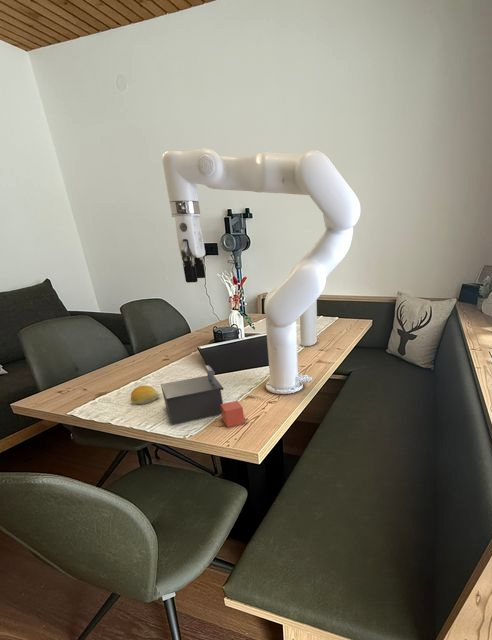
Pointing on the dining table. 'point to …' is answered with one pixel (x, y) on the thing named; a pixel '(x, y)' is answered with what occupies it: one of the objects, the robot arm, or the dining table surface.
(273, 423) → the dining table surface
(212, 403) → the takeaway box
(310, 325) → the paper towel roll
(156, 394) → the bread roll
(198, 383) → the lid
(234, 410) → the block
